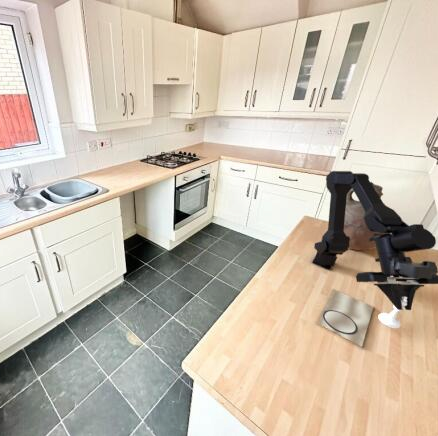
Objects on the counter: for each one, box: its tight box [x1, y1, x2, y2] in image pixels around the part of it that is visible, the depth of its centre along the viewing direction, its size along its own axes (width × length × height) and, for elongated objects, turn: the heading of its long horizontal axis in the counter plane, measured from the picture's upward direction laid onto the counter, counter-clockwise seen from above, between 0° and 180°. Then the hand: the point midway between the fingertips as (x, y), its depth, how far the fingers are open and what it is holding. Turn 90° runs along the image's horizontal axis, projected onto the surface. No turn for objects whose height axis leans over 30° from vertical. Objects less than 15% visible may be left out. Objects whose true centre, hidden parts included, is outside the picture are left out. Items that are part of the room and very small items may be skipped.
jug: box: [344, 181, 391, 251], centre depth 107 cm, size 22×22×30 cm
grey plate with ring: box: [318, 289, 374, 348], centre depth 79 cm, size 11×20×1 cm, turn 134°
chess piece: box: [377, 297, 407, 329], centre depth 70 cm, size 5×5×10 cm
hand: (403, 309), depth 68 cm, fingers closed on chess piece
